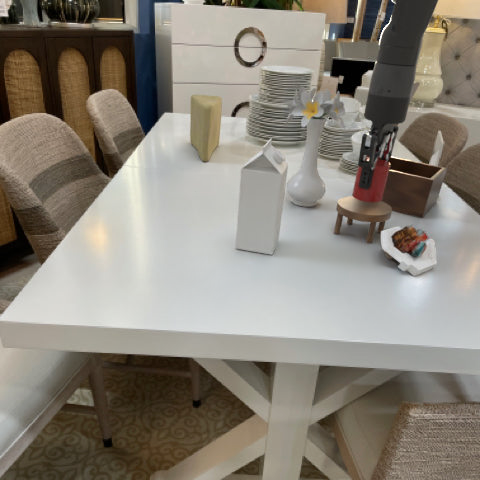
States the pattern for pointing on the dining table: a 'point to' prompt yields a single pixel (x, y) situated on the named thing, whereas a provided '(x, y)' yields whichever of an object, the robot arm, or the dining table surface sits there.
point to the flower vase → (311, 142)
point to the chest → (412, 186)
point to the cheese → (205, 124)
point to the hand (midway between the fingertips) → (370, 184)
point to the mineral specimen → (409, 249)
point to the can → (373, 183)
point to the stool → (362, 214)
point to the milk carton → (261, 201)
